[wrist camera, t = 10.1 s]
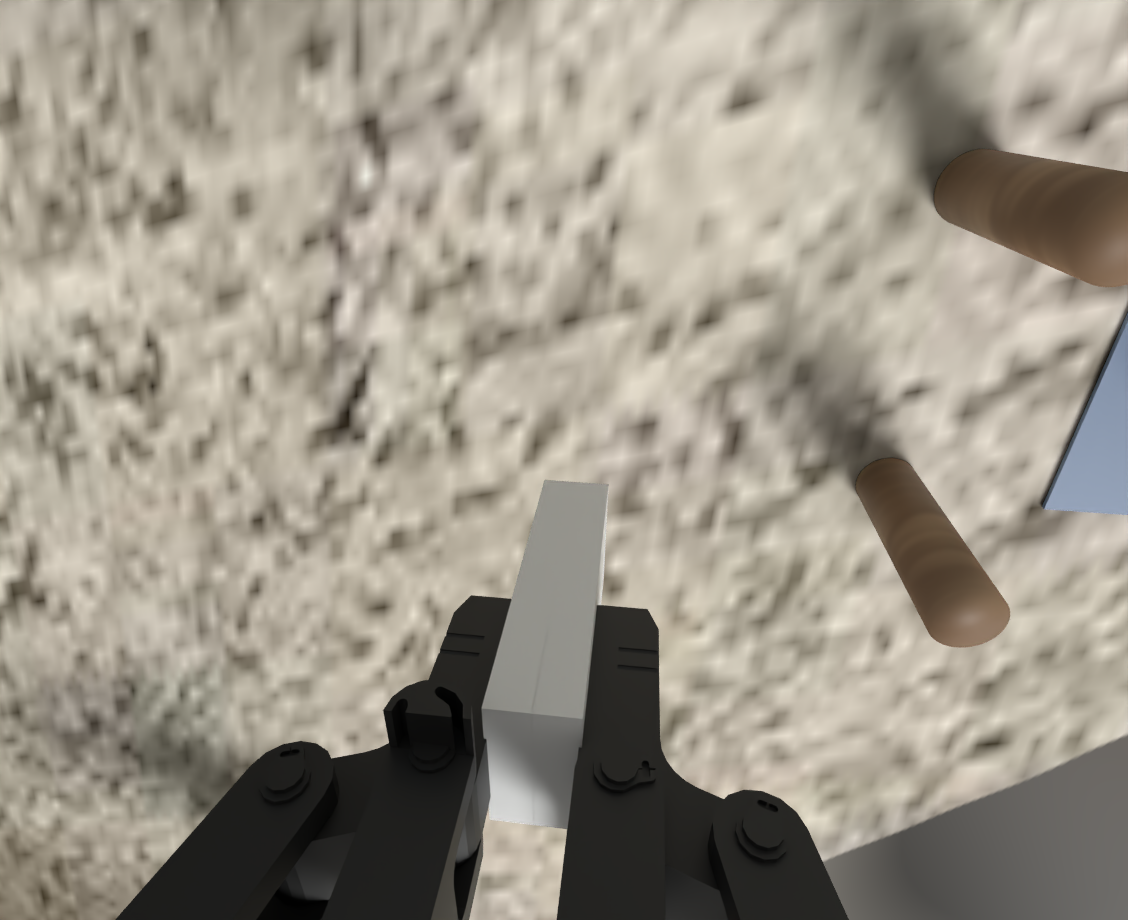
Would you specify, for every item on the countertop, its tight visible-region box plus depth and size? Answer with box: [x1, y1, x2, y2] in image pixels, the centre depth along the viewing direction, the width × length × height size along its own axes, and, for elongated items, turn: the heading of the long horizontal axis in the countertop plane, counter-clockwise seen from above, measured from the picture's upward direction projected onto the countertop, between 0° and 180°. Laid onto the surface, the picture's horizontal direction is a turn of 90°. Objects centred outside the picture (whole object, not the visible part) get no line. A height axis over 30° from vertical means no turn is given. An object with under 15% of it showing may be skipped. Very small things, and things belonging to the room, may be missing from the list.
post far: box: [856, 458, 1010, 647], centre depth 26 cm, size 3×3×9 cm
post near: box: [934, 149, 1128, 287], centre depth 20 cm, size 3×3×9 cm
